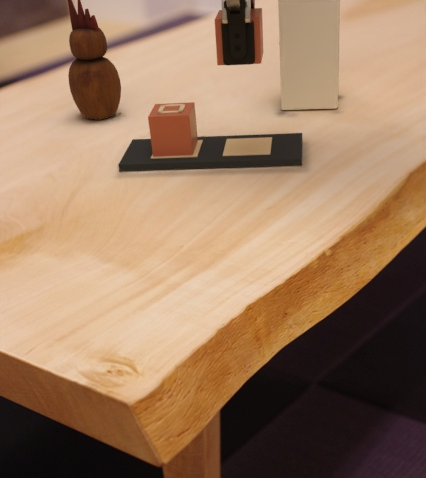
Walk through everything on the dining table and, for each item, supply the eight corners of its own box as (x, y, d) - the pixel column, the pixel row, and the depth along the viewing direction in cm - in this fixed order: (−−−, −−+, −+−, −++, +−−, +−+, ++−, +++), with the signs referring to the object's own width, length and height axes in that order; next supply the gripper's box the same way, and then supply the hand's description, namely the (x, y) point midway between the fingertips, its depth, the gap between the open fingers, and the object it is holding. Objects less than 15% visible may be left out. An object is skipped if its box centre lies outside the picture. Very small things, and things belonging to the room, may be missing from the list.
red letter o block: (198, 141, 85) (194, 101, 83) (192, 155, 82) (189, 113, 79) (159, 142, 86) (154, 102, 84) (152, 156, 82) (147, 115, 80)
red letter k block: (263, 52, 79) (262, 6, 77) (261, 63, 76) (259, 15, 73) (221, 54, 80) (218, 8, 77) (217, 65, 76) (214, 17, 74)
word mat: (302, 139, 86) (302, 131, 85) (301, 165, 79) (301, 157, 79) (133, 145, 88) (132, 138, 88) (119, 171, 82) (117, 163, 81)
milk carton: (337, 109, 94) (339, -58, 83) (281, 111, 95) (276, -54, 85) (338, 93, 100) (340, -66, 89) (285, 94, 101) (281, -62, 91)
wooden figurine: (68, 116, 100) (46, -3, 92) (104, 105, 103) (85, -11, 95) (95, 126, 96) (74, 2, 87) (131, 115, 98) (114, -7, 90)
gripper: (269, -150, 60) (274, 78, 70) (276, -154, 74) (279, 37, 84) (177, -143, 61) (195, 81, 71) (202, -148, 75) (214, 40, 85)
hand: (241, 55), depth 78 cm, fingers closed on red letter k block, 4 cm apart
